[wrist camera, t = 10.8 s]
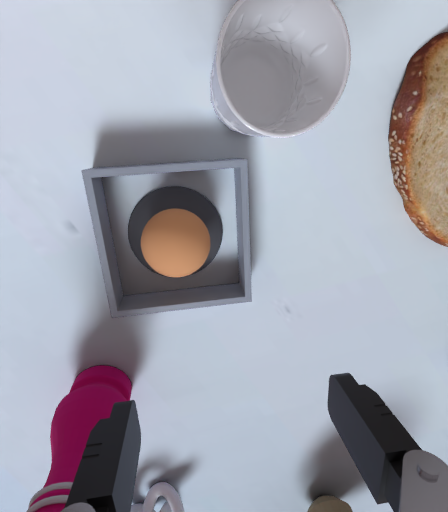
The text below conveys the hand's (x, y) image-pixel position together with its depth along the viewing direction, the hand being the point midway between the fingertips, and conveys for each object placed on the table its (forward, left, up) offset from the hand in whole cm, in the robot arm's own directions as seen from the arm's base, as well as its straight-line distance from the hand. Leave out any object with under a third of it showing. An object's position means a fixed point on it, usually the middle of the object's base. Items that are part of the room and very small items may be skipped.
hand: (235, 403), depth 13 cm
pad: (+2, -2, -20) cm, 20 cm away
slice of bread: (-26, -8, -20) cm, 34 cm away
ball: (+2, -2, -17) cm, 17 cm away
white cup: (-5, -14, -20) cm, 25 cm away
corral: (+2, -2, -20) cm, 20 cm away
